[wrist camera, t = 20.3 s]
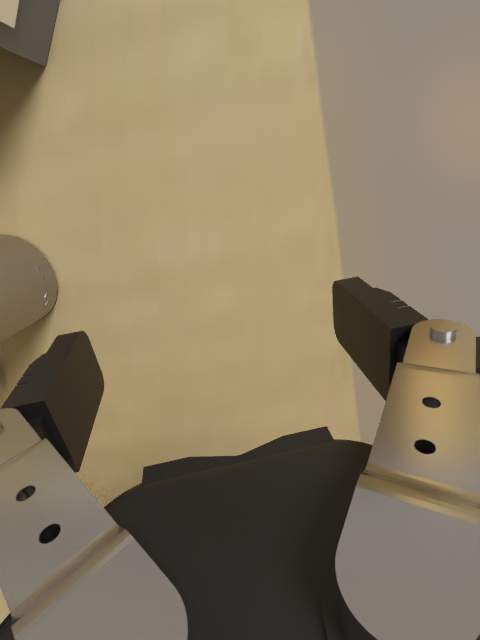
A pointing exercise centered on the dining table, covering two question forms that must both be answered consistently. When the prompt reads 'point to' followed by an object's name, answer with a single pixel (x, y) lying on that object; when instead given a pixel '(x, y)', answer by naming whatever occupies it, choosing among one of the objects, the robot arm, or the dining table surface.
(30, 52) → the box
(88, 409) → the robot arm
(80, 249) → the dining table surface
